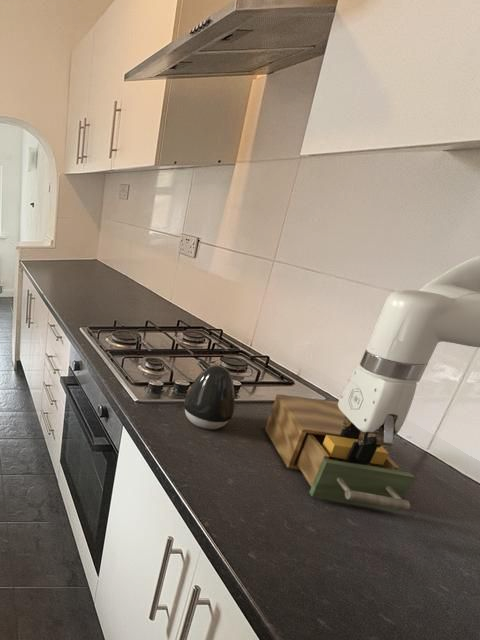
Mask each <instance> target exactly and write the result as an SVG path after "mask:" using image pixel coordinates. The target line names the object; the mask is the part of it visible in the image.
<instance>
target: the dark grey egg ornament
mask: <svg viewBox="0 0 480 640" xmlns="http://www.w3.org/2000/svg"><path fill="white" fill-rule="evenodd" d="M197 365H198V366H199V367H200V369H201V370H202V371H201V373H200V374H199V375H198V376H197V377H196V378H195V379H194V381H193V383H192V384H191V386H190V388H189V389H188V392H187V394H186V396H185V399H184V401H183V408H184V413H185V416H186V418H187V419H188V421H190V423H191V424H192V425H195V426H196V427H199V428H202V429H205V430H218V429H220V428H223V427H224V426H225V425H226V424H228V422H229V421H230V420H232V417H233V415H234V411H235V386H234V381H233V377H232V374H231V372H230V371H229V369H227V368H226V367H225V366H222V365H220V364H219V365H218V364H214V365H210V366H208V365H206V364H205V363H204V362H203V361H202V360H199V361H198V362H197Z"/></svg>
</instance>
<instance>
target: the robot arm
mask: <svg viewBox="0 0 480 640" xmlns="http://www.w3.org/2000/svg"><path fill="white" fill-rule="evenodd" d="M442 342H444V343H451V344H457V345H461V346H466V347H473V348H480V255H477V256H475V257H472V258H470V259H468V260H465V261H463V262H461V263H459V264H457V265H455V266H453V267H452V268H450V269H449V270H447V271H445V272H443V273H442V274H440V275H439V276H437V277H435V278H433V279H432V280H430V281H429V282H427V283H426V284H424V285H423V286H422V287H420V288H419V289H418V290H415V289H414V290H413V289H403V290H402V289H401V290H395V291H393V292H392V293H390V294H389V295H388V296H387V297H386V299H385V302H384V304H383V306H382V309H381V311H380V314H379V316H378V318H377V321H376V323H375V326H374V329H373V331H372V333H371V336H370V338H369V341H368V342H367V343H368V344H367V346H366V348H365V351H364V353H363V355H362V358H361V360H360V362H359V363H358V365H357V366H356V367H355V368H354V370H353V372H352V373H351V375H350V376H349V379H348V381H347V382H346V384H345V387H344V388H343V390H342V393H341V395H340V397H339V398H338V401H337V402H338V407H339V409H340V410H341V411H342V413H343V414H344V415H345V420H344V422H343V428H345V429H342V431H341V434H340V436H339V437H344V438H351V439H358V442H356V441H354V443H353V445H352V447H351V450H350V452H349V454H348V456H347V460H348V461H350V462H355V463H362V464H369V463H370V462H371V460H372V457H373V455H374V453H375V451H376V449H377V448H380V447H381V446H382V445H387V446H389V447H391V446H394V445H393V444H394V436H396V435H397V434H398V433H399V432H400V431H401V429H402V427H403V425H404V423H405V421H406V419H407V417H408V414H409V412H410V409H411V407H412V406H411V405H412V403H413V400H414V397H415V394H416V389H417V385H418V383H419V382H420V381H421V379H422V377H423V375H424V373H425V371H426V368H427V367H428V365H429V362H430V360H431V358H432V356H433V354H434V351H435V350H436V347H437V345H438V343H442ZM369 433H372V434H376V435H375V437H373V436H371V437H368V434H369ZM387 446H386V447H387Z"/></svg>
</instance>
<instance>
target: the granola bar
mask: <svg viewBox="0 0 480 640" xmlns="http://www.w3.org/2000/svg"><path fill="white" fill-rule="evenodd" d="M354 441H356V442H358V439H351V438H344V437H338V436H331V435H326V437H325V439H324V442H323V444H322V447H323V448H324V450H325V451H326V452H327V454H328V455H329V456H330V457H335V458H342V459H347V456H348V454H349V452H350V450H351V447H352V445H353V443H354ZM389 455H390V453H389V452H388V450H386V448H385V449H384V448H383V447H382V446H381V447H380V448H377V449H376V451H375V453H374V455H373V457H372V460H371V462H370V463H374V464H380V465H383V464H384V462H385V460H386V458H387V456H389Z"/></svg>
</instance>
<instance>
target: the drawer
mask: <svg viewBox="0 0 480 640" xmlns="http://www.w3.org/2000/svg"><path fill="white" fill-rule="evenodd" d="M325 437H326V436H325V435H318V434H312V433H306V435H305V437H304V440H303V442H302V445H301V447H300V450H299V453H298V455H297V458H296V460H295V462H296V464H297V465H298V467H299V468H300V470H299V471H300V472H301V474H302V475H303V476H304V478H305V480H306V481H307V482H308V484H309V486H310V490H309V494H310V496H311V497H312V498H316V499H322V500H327V501H332V502H333V501H334V502H337V503H338V502H339V503H343V504H349V505H354V506H359V507H365V508H370V509H375V510H381V511H387V512H390V513H391V512H392V513H396V512H397V511H398V510H404V511H408V510H409V509H410V508H411V504H410V503H411V502H410V501H409V500H408V499H404V497H405V496H406V494H407V492H408V490H409V488H410V486H411V485H412V483H413V481H414V479H415V476H414V474H412V473H411V472H408V471H403V470H400V469H401V468H400V466H399V465H398V464H397V463H396V462H395V461H394V460H393V459H392V458H391V457H390V456H389V455H388V456H387V458H386V460H385V462H384V464H383V465H380V464H374V463H369V464H362V463H355V462H350V461H348V460H347V459H342V458H335V457H330V456H329V455H328V454H327V452H326V451H325V450H324V448H323V447H322V444H323V442H324V439H325Z"/></svg>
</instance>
